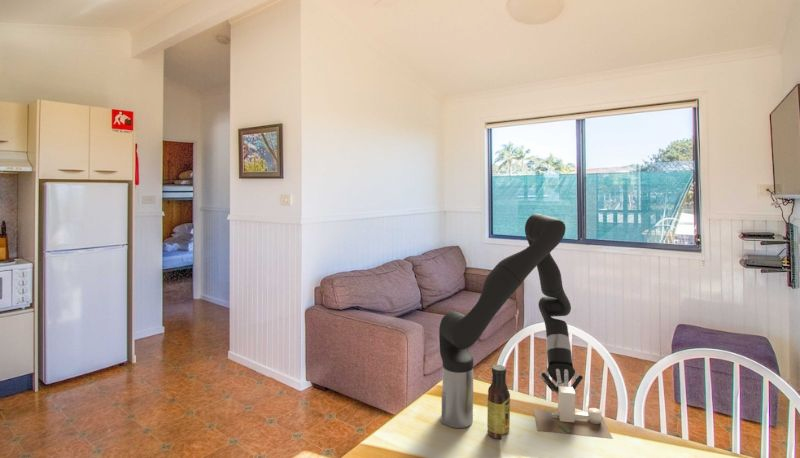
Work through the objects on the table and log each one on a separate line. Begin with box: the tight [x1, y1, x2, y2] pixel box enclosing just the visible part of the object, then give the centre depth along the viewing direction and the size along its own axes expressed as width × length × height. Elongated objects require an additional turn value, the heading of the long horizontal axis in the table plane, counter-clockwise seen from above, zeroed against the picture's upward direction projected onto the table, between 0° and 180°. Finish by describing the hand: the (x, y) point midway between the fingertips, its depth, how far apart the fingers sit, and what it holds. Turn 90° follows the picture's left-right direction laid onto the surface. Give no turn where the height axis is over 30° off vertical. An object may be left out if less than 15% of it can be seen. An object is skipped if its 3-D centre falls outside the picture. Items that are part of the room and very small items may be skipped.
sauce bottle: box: [486, 364, 511, 440], centre depth 124 cm, size 7×6×20 cm
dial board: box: [532, 408, 613, 440], centre depth 128 cm, size 20×12×2 cm, turn 79°
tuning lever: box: [551, 385, 602, 424], centre depth 129 cm, size 14×4×9 cm, turn 80°
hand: (564, 405), depth 132 cm, fingers closed
